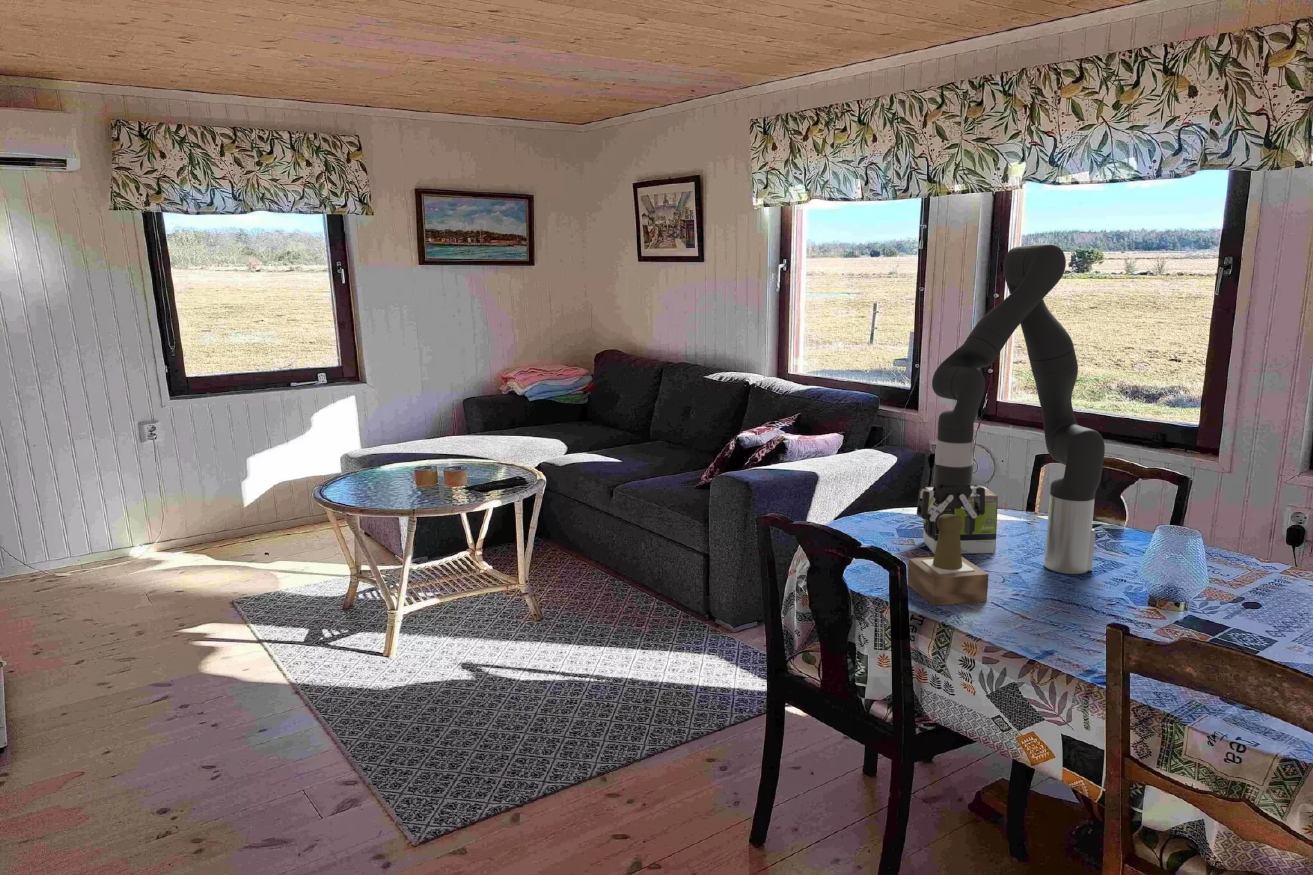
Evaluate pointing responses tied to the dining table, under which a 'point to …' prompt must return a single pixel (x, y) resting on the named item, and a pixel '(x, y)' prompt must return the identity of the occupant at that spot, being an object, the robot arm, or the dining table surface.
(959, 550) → the cork
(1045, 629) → the dining table surface
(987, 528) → the tea box
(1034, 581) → the dining table surface
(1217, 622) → the dining table surface
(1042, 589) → the dining table surface
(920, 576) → the block
